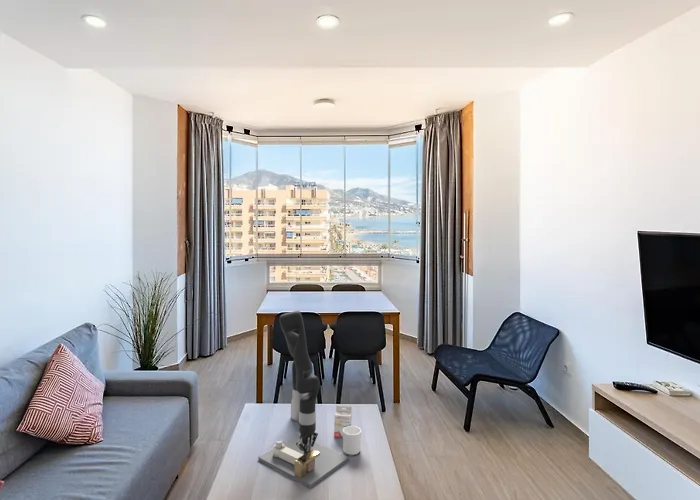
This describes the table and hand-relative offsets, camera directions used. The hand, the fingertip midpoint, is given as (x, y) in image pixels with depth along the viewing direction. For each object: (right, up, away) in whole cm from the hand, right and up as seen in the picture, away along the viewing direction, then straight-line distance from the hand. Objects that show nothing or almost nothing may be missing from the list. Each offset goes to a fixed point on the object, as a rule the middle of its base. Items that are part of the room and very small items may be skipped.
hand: (306, 457), depth 184 cm
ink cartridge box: (+16, -2, +27) cm, 31 cm away
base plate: (-2, -3, +4) cm, 5 cm away
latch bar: (-6, -1, 0) cm, 7 cm away
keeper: (+1, -4, -7) cm, 8 cm away
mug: (+20, -3, +13) cm, 24 cm away
